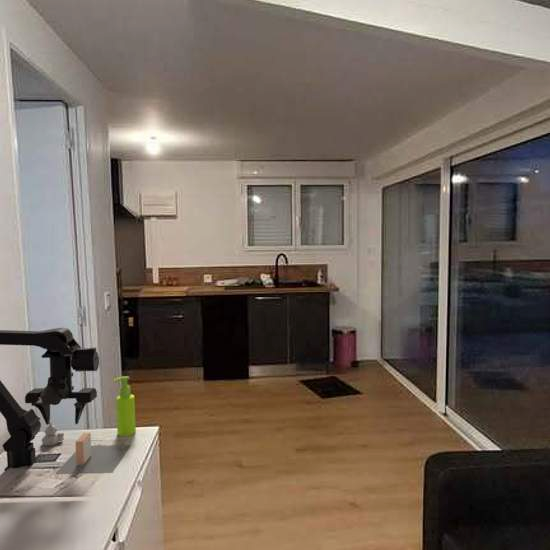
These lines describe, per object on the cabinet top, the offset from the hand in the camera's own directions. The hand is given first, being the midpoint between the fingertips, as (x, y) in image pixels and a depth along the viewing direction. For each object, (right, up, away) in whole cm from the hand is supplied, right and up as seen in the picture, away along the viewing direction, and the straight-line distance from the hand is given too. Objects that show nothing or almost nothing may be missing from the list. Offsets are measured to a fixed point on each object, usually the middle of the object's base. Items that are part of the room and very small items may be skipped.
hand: (62, 424), depth 137 cm
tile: (+6, -11, +1) cm, 13 cm away
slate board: (+9, -12, +2) cm, 15 cm away
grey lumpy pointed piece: (-9, -11, +14) cm, 20 cm away
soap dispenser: (+12, -11, +21) cm, 26 cm away
